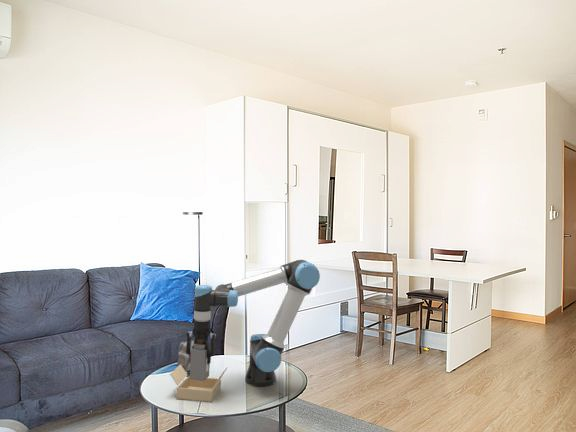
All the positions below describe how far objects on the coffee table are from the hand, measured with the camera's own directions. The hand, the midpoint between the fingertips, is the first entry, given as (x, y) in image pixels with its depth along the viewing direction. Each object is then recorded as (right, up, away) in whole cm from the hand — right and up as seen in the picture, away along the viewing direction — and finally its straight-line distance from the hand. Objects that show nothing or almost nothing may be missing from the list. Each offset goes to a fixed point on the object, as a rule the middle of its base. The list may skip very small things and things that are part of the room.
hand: (199, 370), depth 216 cm
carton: (0, -11, 0) cm, 11 cm away
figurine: (-12, -10, +33) cm, 37 cm away
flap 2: (+9, -3, -1) cm, 10 cm away
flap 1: (-10, -2, +1) cm, 10 cm away
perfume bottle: (0, -4, 0) cm, 4 cm away
